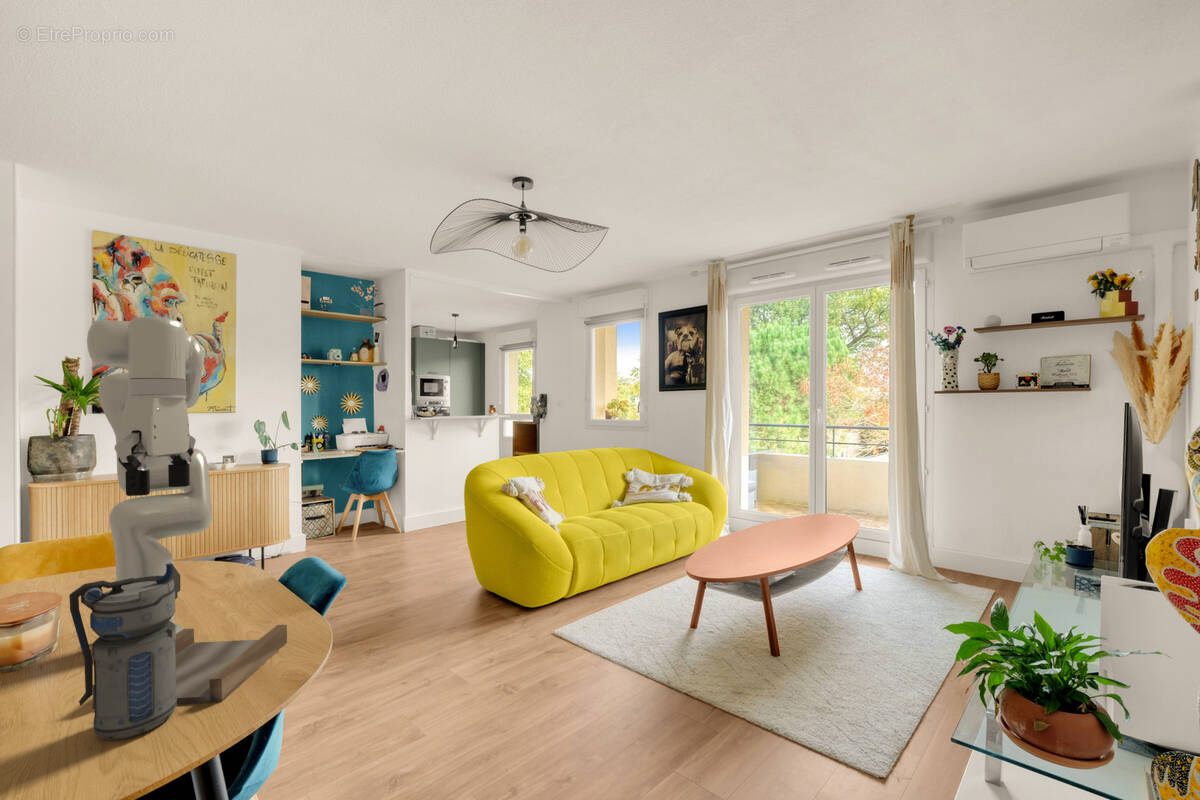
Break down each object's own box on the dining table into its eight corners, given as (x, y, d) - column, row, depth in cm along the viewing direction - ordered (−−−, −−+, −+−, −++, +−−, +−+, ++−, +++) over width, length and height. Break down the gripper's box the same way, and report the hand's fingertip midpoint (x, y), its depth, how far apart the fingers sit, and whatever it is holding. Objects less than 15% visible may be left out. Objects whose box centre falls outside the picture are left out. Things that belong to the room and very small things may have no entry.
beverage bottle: (69, 733, 83) (67, 575, 83) (175, 697, 93) (173, 556, 93) (74, 762, 77) (71, 591, 77) (188, 720, 87) (185, 568, 86)
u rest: (93, 708, 90) (92, 685, 90) (184, 647, 112) (184, 628, 112) (222, 701, 92) (221, 678, 92) (287, 643, 114) (286, 624, 114)
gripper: (169, 392, 98) (171, 484, 98) (90, 389, 81) (92, 500, 81) (212, 391, 99) (214, 482, 99) (144, 388, 82) (145, 498, 82)
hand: (159, 490), depth 90 cm, fingers open, 9 cm apart
